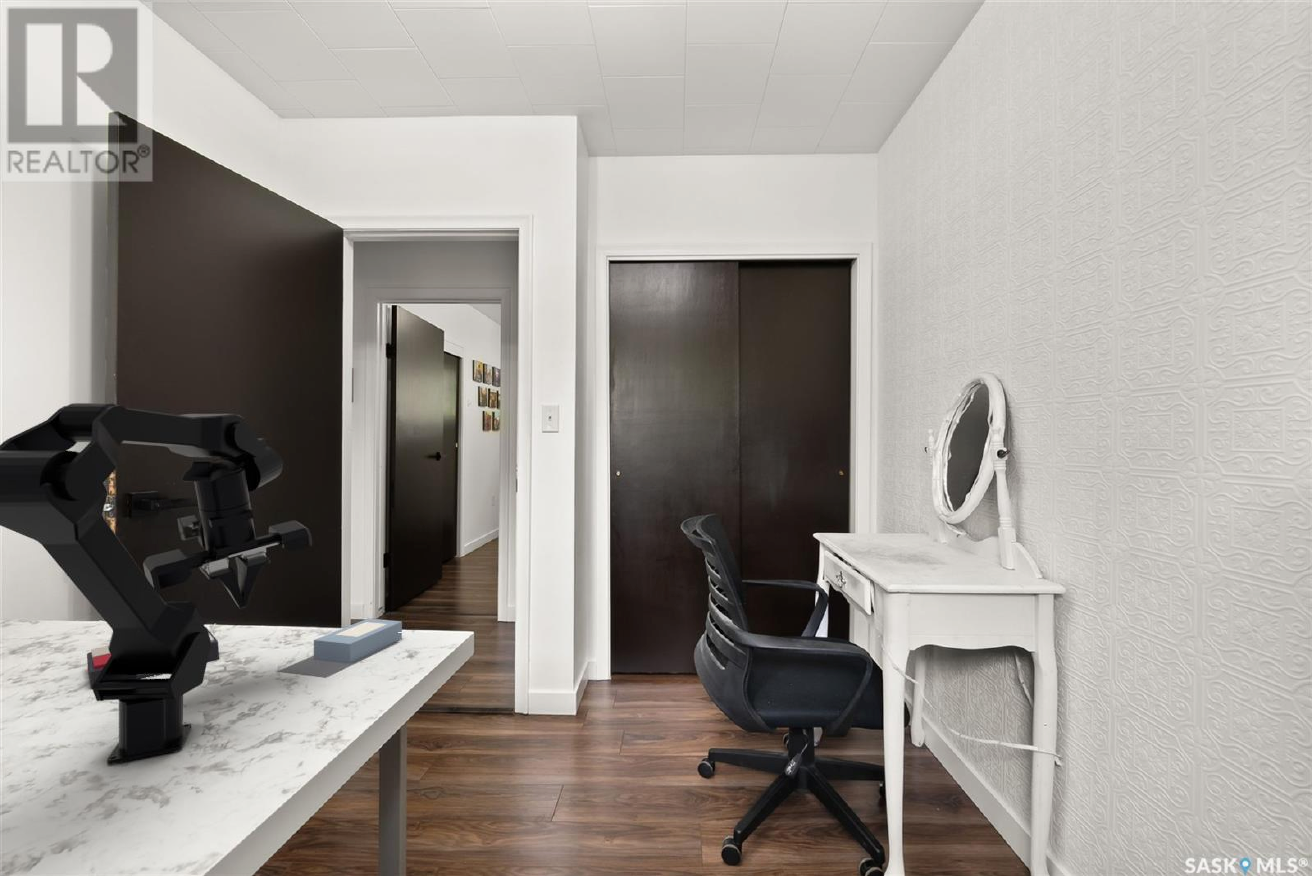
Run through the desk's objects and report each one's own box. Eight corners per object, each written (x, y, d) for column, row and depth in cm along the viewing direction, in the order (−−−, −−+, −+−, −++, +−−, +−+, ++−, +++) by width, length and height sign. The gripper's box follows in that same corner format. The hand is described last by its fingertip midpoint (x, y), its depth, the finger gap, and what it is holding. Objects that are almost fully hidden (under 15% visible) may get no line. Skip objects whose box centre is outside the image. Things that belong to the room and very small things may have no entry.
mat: (325, 680, 89) (325, 677, 89) (276, 673, 92) (276, 671, 92) (399, 644, 105) (399, 642, 105) (355, 640, 107) (355, 637, 107)
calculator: (86, 647, 94) (205, 621, 104) (88, 675, 94) (207, 646, 105) (89, 666, 86) (218, 636, 97) (91, 696, 86) (220, 663, 97)
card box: (350, 643, 95) (401, 621, 107) (313, 639, 97) (368, 618, 108) (350, 663, 95) (401, 638, 107) (313, 658, 97) (368, 635, 108)
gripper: (279, 476, 95) (292, 567, 99) (124, 507, 82) (147, 611, 86) (307, 492, 88) (320, 590, 92) (142, 529, 75) (165, 642, 78)
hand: (242, 606), depth 87 cm, fingers closed
